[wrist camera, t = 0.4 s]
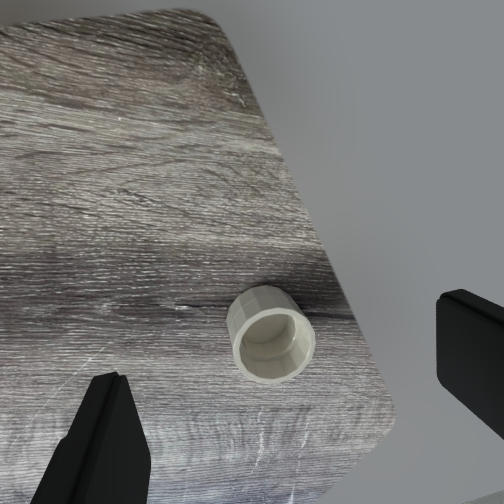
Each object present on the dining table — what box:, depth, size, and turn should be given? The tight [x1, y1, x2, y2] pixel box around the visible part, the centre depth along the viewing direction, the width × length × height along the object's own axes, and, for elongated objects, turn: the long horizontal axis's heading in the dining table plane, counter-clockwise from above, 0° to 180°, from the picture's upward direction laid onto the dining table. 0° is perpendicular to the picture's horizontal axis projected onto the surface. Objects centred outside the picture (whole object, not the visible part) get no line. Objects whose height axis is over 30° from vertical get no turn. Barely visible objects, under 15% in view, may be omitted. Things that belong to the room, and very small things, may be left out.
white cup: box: [226, 285, 316, 384], centre depth 29 cm, size 7×7×6 cm
